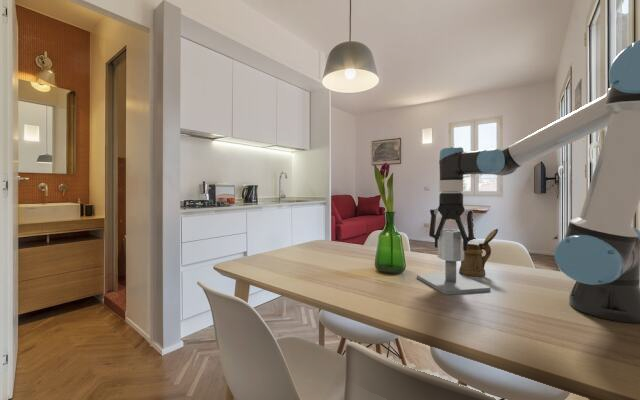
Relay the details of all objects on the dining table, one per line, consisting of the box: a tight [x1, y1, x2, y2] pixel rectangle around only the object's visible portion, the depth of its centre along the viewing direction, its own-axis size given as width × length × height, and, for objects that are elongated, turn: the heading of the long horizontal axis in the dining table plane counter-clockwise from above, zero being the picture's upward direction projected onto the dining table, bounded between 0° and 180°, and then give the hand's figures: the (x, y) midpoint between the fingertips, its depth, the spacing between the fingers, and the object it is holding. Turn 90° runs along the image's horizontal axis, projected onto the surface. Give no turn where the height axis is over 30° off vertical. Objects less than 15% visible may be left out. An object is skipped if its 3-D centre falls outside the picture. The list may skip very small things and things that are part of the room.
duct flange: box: [416, 260, 492, 296], centre depth 99 cm, size 18×16×8 cm
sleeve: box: [439, 228, 463, 262], centre depth 99 cm, size 7×7×10 cm
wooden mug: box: [458, 228, 499, 277], centre depth 111 cm, size 9×14×18 cm, turn 71°
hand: (450, 258), depth 99 cm, fingers closed on sleeve, 7 cm apart
